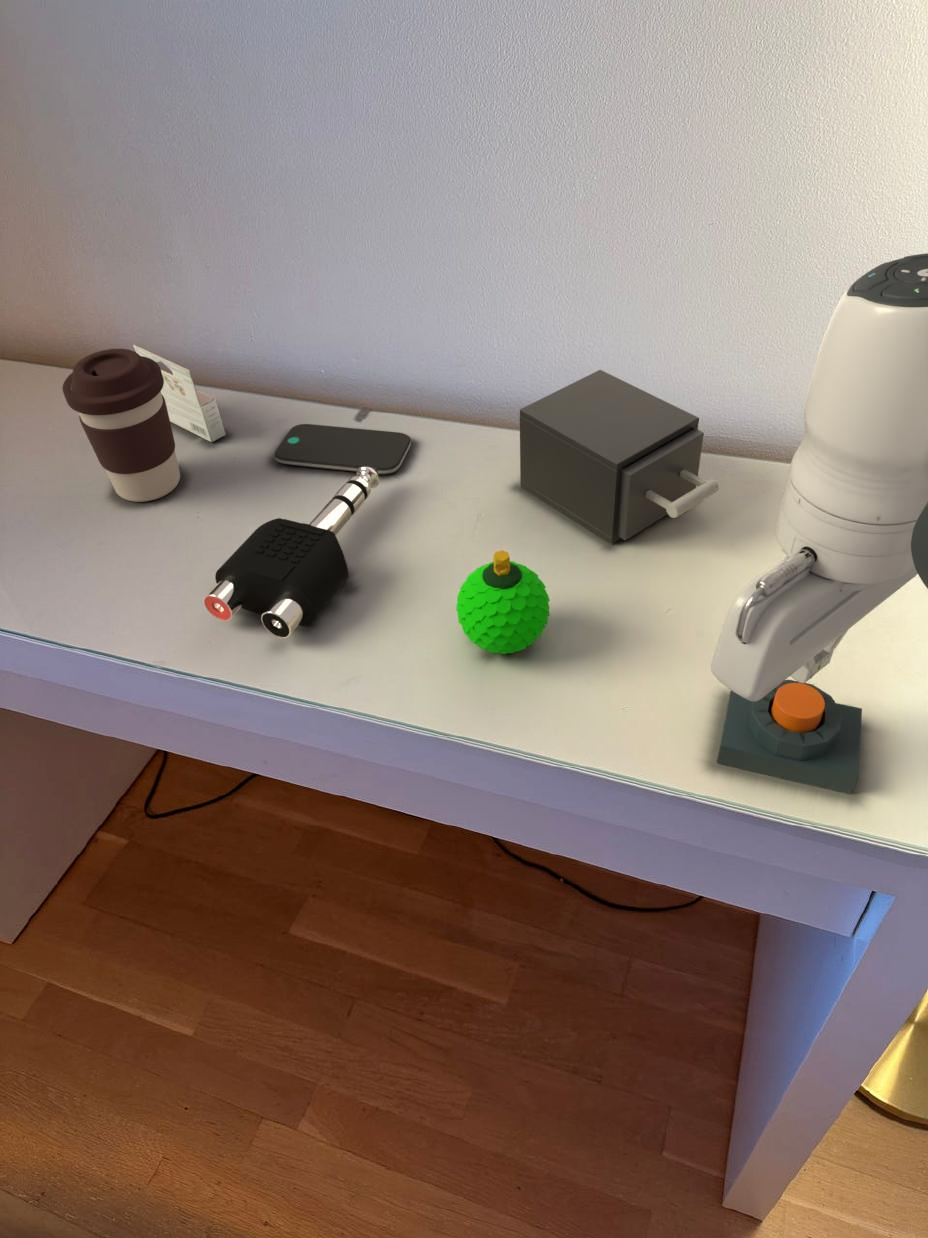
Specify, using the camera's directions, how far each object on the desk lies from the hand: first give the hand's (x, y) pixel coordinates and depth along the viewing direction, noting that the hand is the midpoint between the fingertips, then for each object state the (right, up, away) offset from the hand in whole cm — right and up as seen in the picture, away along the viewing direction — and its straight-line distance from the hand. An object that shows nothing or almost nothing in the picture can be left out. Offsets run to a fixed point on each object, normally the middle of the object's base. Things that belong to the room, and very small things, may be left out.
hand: (806, 669), depth 68 cm
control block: (+1, -6, +6) cm, 9 cm away
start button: (0, -4, +3) cm, 5 cm away
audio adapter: (-39, +10, +26) cm, 48 cm away
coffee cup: (-61, +19, +37) cm, 73 cm away
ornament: (-21, +2, +16) cm, 27 cm away
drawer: (-8, +16, +29) cm, 34 cm away
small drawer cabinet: (-10, +17, +31) cm, 37 cm away
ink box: (-59, +27, +46) cm, 79 cm away
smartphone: (-39, +23, +40) cm, 60 cm away
